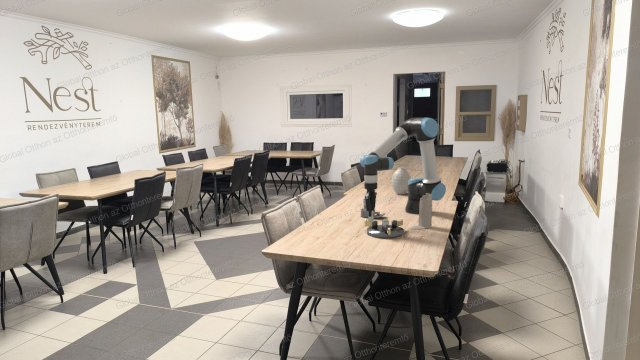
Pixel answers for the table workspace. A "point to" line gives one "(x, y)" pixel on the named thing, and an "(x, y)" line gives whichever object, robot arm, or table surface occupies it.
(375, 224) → the knob
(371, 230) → the level base
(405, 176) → the vase
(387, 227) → the knob
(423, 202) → the grey upright bracket
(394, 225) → the knob
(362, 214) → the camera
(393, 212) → the table surface
